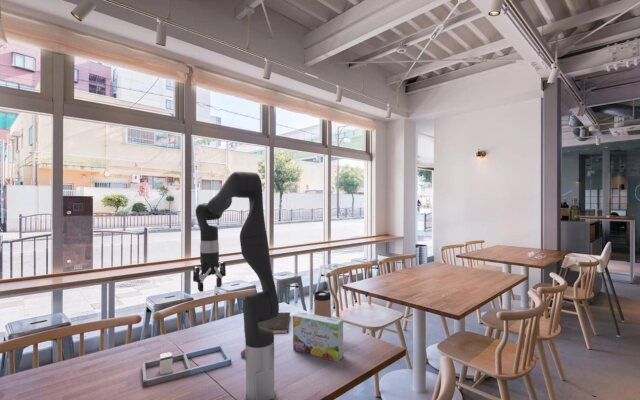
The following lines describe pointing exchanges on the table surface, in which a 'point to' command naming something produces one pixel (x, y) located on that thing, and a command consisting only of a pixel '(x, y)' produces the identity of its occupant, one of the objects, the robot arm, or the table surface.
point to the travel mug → (322, 304)
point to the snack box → (318, 335)
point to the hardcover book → (277, 323)
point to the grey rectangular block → (166, 363)
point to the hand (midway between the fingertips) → (210, 289)
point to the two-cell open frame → (188, 369)
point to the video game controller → (243, 353)
